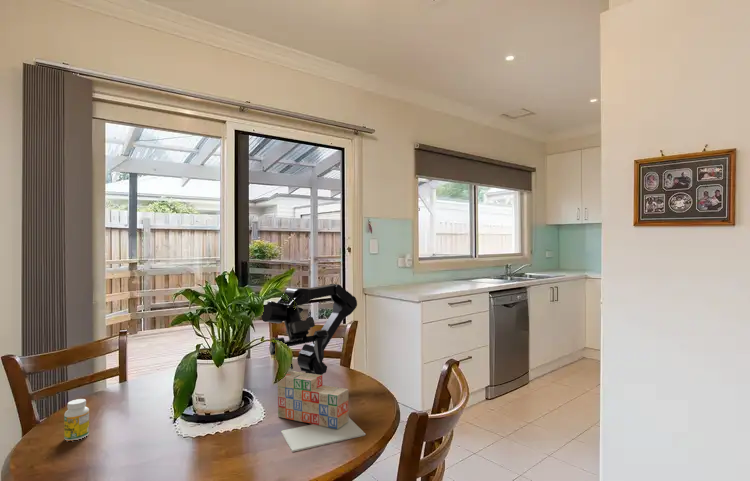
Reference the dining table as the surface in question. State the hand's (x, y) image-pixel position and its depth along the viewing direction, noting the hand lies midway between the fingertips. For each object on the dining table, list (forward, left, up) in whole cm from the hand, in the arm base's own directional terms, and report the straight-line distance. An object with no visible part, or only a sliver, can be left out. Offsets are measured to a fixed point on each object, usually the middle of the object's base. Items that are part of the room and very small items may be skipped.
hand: (306, 365), depth 127 cm
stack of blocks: (+9, -1, -14) cm, 16 cm away
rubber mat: (+18, -1, -14) cm, 23 cm away
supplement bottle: (-9, -61, -14) cm, 63 cm away
